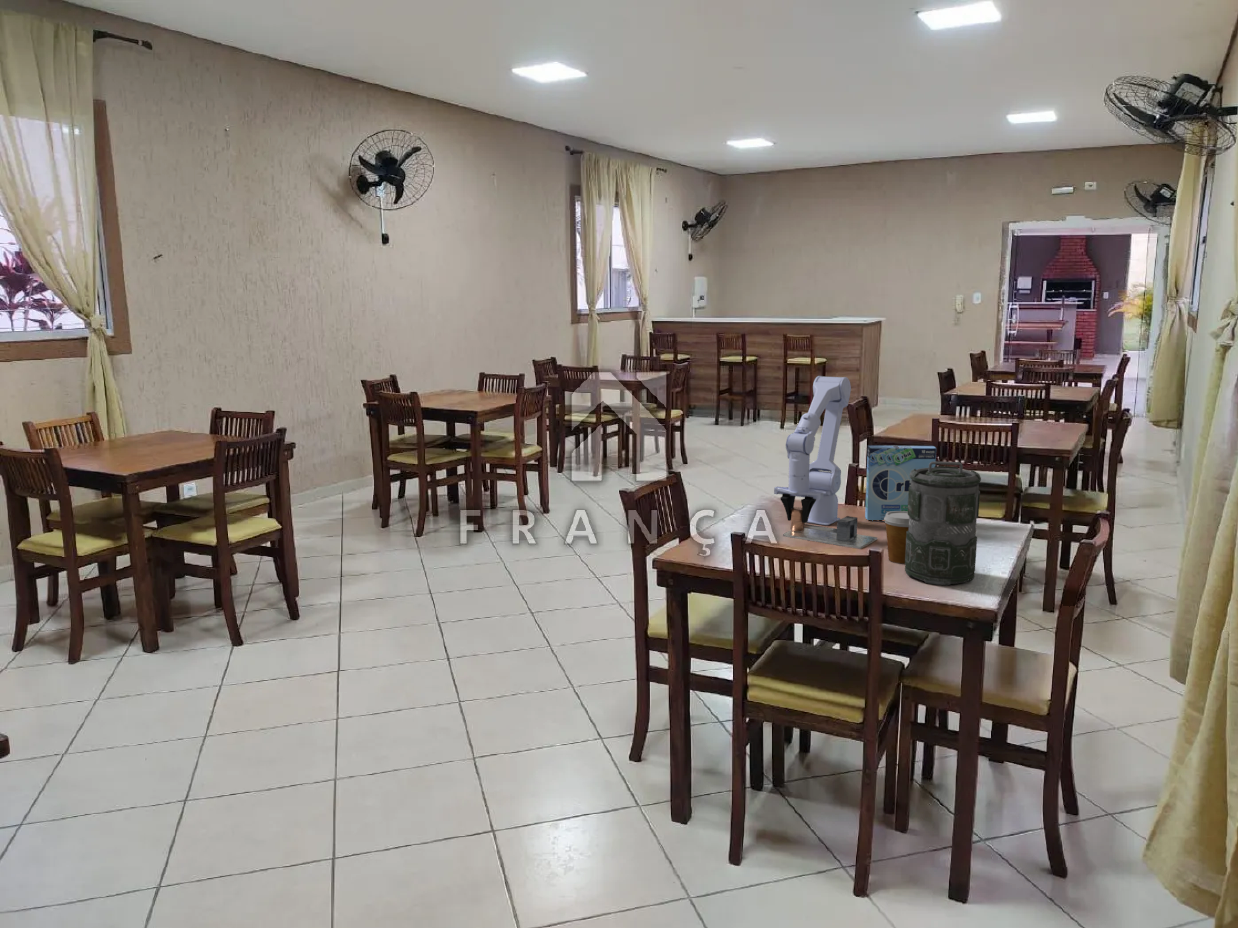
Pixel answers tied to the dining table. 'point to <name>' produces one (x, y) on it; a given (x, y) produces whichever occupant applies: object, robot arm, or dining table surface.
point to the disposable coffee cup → (896, 535)
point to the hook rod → (799, 526)
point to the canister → (942, 524)
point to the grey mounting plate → (836, 534)
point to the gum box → (892, 476)
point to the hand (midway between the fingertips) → (797, 521)
